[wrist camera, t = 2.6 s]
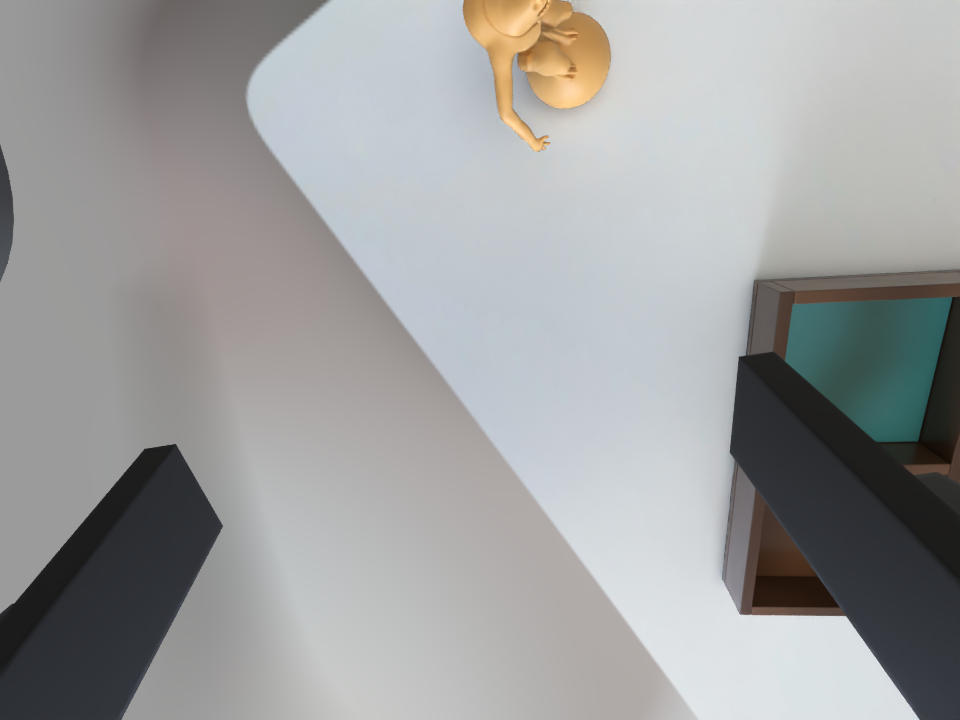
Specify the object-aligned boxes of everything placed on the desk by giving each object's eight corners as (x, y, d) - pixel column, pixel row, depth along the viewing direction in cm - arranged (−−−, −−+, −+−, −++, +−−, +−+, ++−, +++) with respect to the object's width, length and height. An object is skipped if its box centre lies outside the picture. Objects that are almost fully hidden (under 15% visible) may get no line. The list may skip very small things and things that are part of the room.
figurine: (598, 156, 27) (650, 142, 16) (486, 158, 28) (461, 147, 17) (609, -29, 25) (681, -201, 13) (485, -23, 25) (453, -184, 14)
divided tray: (721, 578, 36) (740, 615, 33) (753, 280, 29) (780, 292, 26) (1053, 579, 34) (1105, 619, 31) (1174, 258, 27) (1256, 268, 24)
